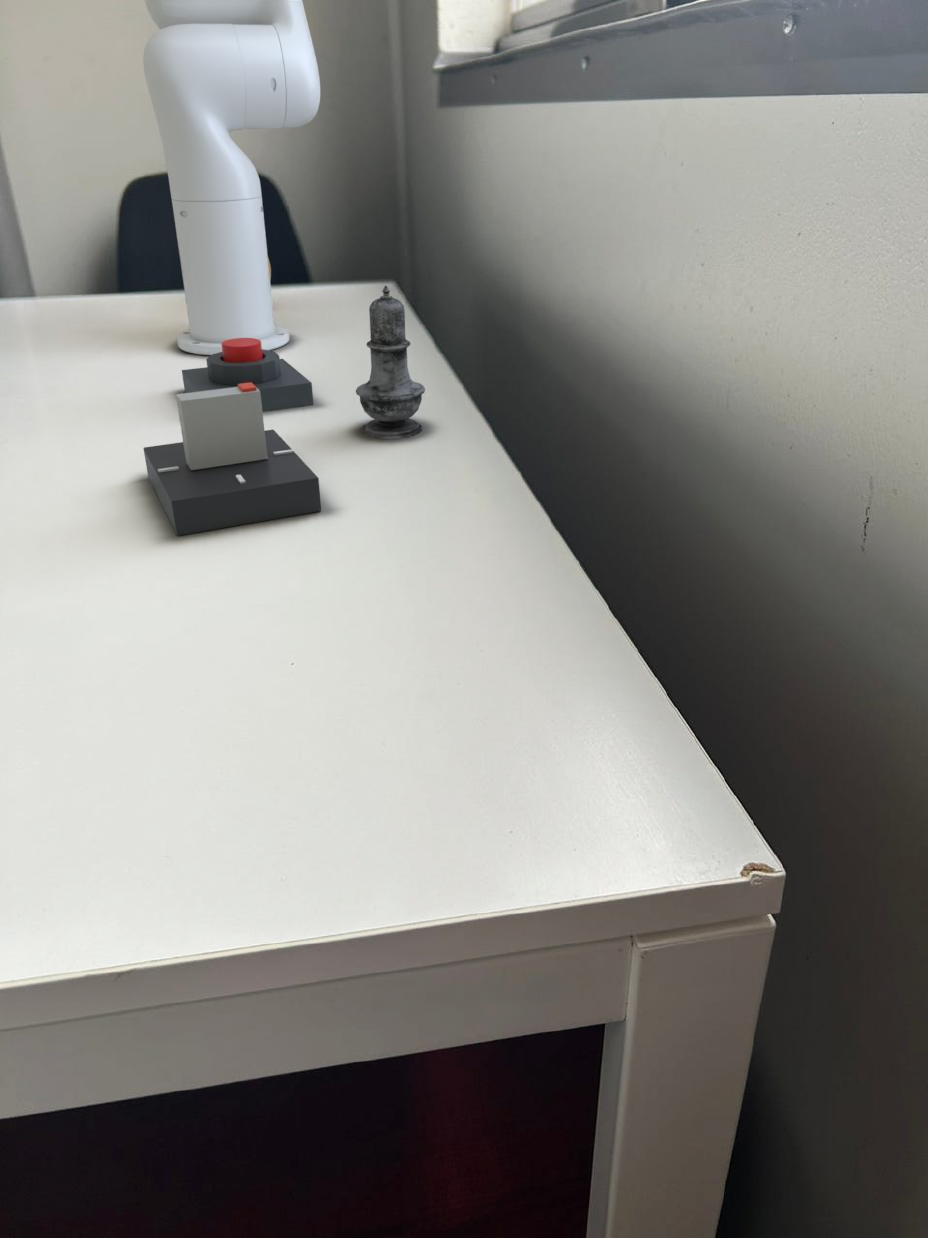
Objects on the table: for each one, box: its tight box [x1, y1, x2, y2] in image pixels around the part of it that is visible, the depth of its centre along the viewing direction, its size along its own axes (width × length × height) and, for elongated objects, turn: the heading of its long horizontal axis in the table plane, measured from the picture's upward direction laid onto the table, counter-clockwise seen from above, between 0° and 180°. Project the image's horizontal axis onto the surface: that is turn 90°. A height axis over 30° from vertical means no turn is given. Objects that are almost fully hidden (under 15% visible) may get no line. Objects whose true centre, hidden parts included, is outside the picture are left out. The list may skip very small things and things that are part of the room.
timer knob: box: [175, 382, 268, 470], centre depth 70 cm, size 6×2×5 cm, turn 115°
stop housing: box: [181, 349, 314, 413], centre depth 93 cm, size 10×10×4 cm
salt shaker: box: [355, 285, 426, 440], centre depth 82 cm, size 6×6×12 cm
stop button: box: [222, 338, 263, 363], centre depth 92 cm, size 4×4×2 cm
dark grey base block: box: [143, 429, 322, 537], centre depth 72 cm, size 12×10×3 cm
